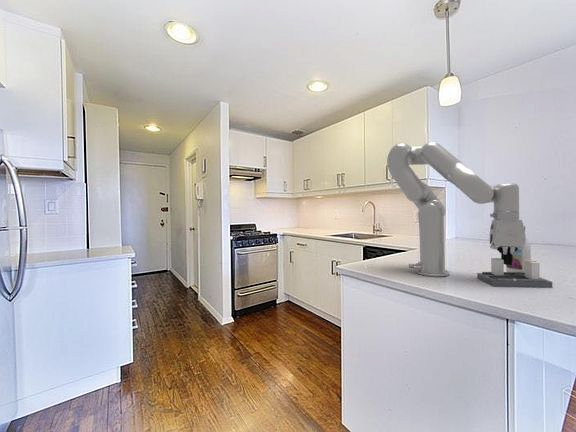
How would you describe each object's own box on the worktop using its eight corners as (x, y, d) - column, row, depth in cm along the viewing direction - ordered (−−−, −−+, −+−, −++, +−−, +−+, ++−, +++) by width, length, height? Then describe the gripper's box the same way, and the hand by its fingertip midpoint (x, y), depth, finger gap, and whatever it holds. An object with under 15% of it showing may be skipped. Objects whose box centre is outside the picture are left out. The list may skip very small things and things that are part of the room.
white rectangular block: (496, 275, 102) (496, 259, 101) (491, 273, 105) (490, 257, 105) (503, 275, 101) (503, 259, 101) (498, 273, 105) (498, 257, 104)
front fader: (531, 279, 95) (531, 262, 95) (524, 276, 98) (524, 260, 98) (539, 279, 94) (539, 262, 94) (532, 277, 98) (532, 260, 98)
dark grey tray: (493, 286, 96) (493, 279, 96) (477, 277, 107) (477, 271, 107) (552, 287, 92) (552, 279, 92) (529, 278, 104) (529, 271, 104)
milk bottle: (521, 272, 114) (520, 225, 113) (536, 276, 106) (535, 226, 106) (501, 272, 115) (501, 225, 114) (515, 277, 107) (514, 227, 106)
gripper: (489, 217, 100) (490, 266, 100) (536, 216, 97) (536, 266, 97) (479, 216, 107) (479, 262, 107) (522, 215, 104) (522, 262, 105)
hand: (506, 264), depth 102 cm, fingers closed
